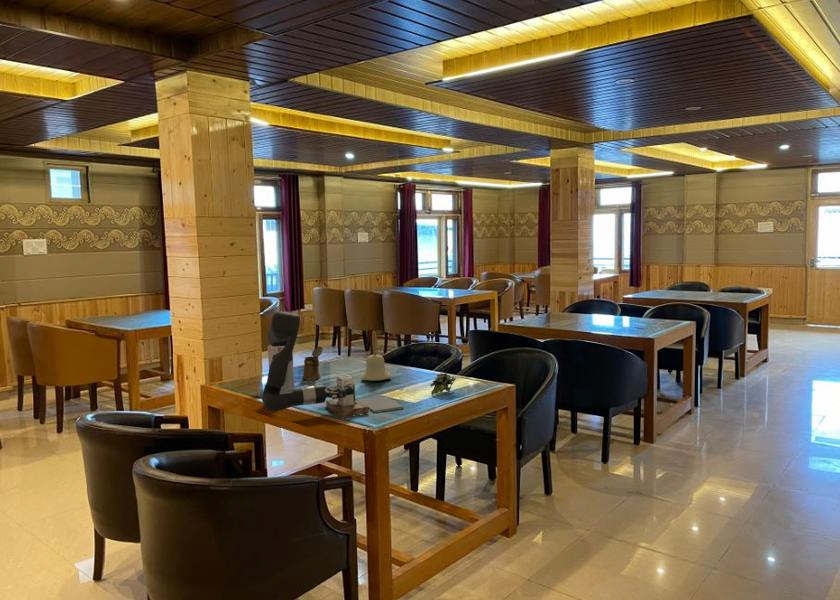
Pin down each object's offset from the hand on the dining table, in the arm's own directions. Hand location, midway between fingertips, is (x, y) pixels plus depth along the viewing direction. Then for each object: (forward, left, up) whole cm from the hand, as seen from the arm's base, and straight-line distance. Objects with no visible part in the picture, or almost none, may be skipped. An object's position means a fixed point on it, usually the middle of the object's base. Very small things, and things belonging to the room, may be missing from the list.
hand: (351, 389), depth 268 cm
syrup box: (-2, 0, -9) cm, 9 cm away
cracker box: (-16, +67, -9) cm, 69 cm away
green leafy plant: (+45, +4, -9) cm, 46 cm away
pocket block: (-2, 0, -9) cm, 9 cm away
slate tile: (+13, 0, -9) cm, 15 cm away
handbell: (+29, +48, -9) cm, 57 cm away
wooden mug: (+2, +68, -9) cm, 69 cm away
